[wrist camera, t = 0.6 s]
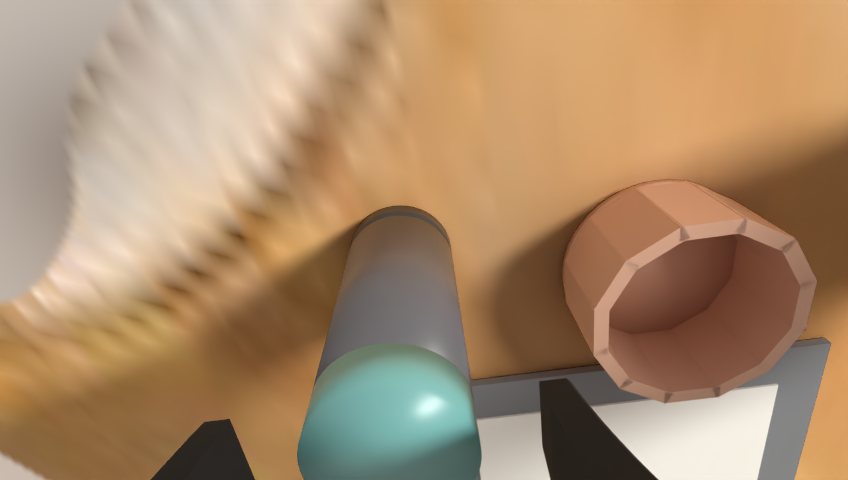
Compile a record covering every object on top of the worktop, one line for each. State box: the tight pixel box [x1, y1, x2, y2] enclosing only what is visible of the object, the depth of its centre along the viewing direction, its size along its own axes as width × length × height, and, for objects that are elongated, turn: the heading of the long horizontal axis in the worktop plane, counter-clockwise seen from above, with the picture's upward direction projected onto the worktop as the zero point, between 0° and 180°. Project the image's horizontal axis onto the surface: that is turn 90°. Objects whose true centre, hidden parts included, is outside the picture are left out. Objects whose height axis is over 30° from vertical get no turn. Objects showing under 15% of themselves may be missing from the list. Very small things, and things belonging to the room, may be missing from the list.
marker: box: [297, 206, 482, 480], centre depth 15 cm, size 4×4×10 cm
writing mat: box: [471, 338, 831, 480], centre depth 25 cm, size 18×13×1 cm
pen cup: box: [562, 179, 817, 404], centre depth 18 cm, size 7×7×4 cm
